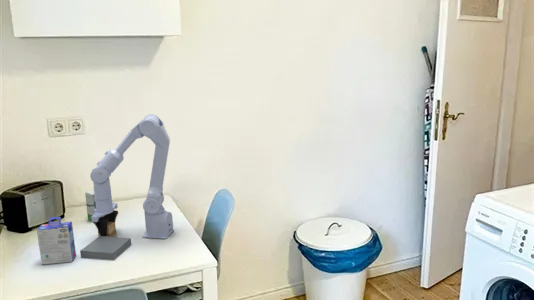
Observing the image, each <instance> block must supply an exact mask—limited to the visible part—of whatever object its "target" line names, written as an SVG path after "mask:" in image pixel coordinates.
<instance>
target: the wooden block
mask: <svg viewBox="0 0 534 300" xmlns="http://www.w3.org/2000/svg"><path fill="white" fill-rule="evenodd" d="M97 233H98V237H99V236H100V233H99V231H98V230H97ZM107 236H108V237H116V236H117V227H116V221H115V222H108V223H107Z"/></svg>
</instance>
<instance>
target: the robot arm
mask: <svg viewBox="0 0 534 300" xmlns="http://www.w3.org/2000/svg"><path fill="white" fill-rule="evenodd" d="M144 137H146V138H147V139H150V140H151V141H152V142H153V144H154V145H155V147H154V152H153V153H154V155H153V159H152V160H153V161H152V167H151V174H150V180H149V187H148V191H147V195H146V198H145V200H144V201H143V204H142V208H143V210H144V220H145V221H144V222H145V223H144V224H145V233H143V235H141V238H148V239H164V240H165V239H167V238H168V237H169V236H171V234H173V233H174V231H175V229H174V222H173V214H172V212H170V211H167V210H165V206H164V205H163V203H164V201H165V196H164V194H163V191H164V180H165V175H166V166H167V162H168V154H169V149H170V144H171V143H170V142H171V139H170V136H169V134H168V132H167V130H166V127H165V123H164V121H163V120H162V119H160V117H158V116H157V115H155V114H148V115H146V116H145V117H144V118H142V119H141V120H140V121H139V122H138V123H137V124H136V125H135V126H133V127H132V128H131V129H130V130H129V132H128V133H127V134H126V135H125V137H124V138H123V139H122V140H121V142H120V143H119V144H118V146H117V147H116V148H111V149H109V150H106V151H105V152H104V157H103V158H102V159H101V160H99V161H97V163H96V165H97V166H95V167H94V168H93V169H92V170H91V172H90V174H89V176H90V180H91V181H92V182H93V183H92V184H93V190H94V195H95V203H96V209H94V212H95V213H94V215H93V216H92V217H91V220H92V221H91V222H92V223H93V224H94V226H95V227H96V228H97V232H98V231H99V233H100V236H107V223H108V222H115V223H116V219H117V217H118V214H119V211H118V210H117V209H118V208H119V206H118V202H113V197H112V187H111V182H110V177H111V176H112V173H114V172H115V171H116V169H118V167H119V166H120V164H121V163H122V162H123V161H124V155H125V154H124V153H126V151H127V150H128V149H129V148H130V147H131V146H132V145H133V144H134V143H135V141H136V140H137V139H141V138H144ZM103 216H104V217H103Z"/></svg>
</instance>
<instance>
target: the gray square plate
mask: <svg viewBox="0 0 534 300" xmlns="http://www.w3.org/2000/svg"><path fill="white" fill-rule="evenodd" d="M130 245H131V246H132V239H131V237H120V236H114V237H108V236H98V237H96V238H95V239H93V241H91V242H90V243H88V244H87V245H85V247H83V248H82V249H80V250H79V254H80V258H83V259H95V260H106V261H115V260H116V259H117V258H119V257H120V255H121V254H123V253H124V252H125V251H126V250H128V248H130V247H131V246H130Z"/></svg>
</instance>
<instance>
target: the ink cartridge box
mask: <svg viewBox="0 0 534 300" xmlns="http://www.w3.org/2000/svg"><path fill="white" fill-rule="evenodd" d="M53 220H57V221H53ZM73 228H74V227H73V222H72V221H64V222H63V221H62V219H61V216H52V217H49V218H48V223H45V224H40V226H39V227H38V229H36V232H37V233H36V234H37V240H38V241H37V242H38V247H39V254H40V262H41V265H50V264H52V265H53V264H60V263H70V262H71V263H72V262H73V261H74V259H75V258H76V256H77V251H76V245H75V236H74V229H73Z"/></svg>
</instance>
